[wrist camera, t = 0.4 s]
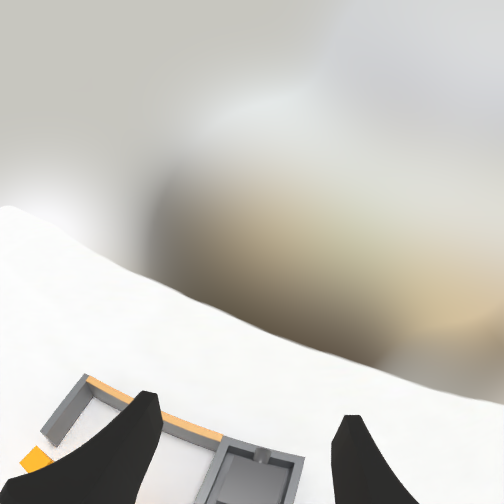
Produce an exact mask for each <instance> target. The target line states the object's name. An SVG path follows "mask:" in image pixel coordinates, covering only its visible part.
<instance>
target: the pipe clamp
mask: <svg viewBox="0 0 504 504" xmlns="http://www.w3.org/2000/svg"><path fill="white" fill-rule="evenodd" d="M52 463H54V461H53V460H52V459H51V458H50V457H48V456H47V455H46V454H45V453H44V452H43V451H42V450H41V449H40V448H38V447H37V446H35V447H34V448H33V449H32V450H31V451H30V453H29V454H28V455H27V456H26V457H25V458H24V459H23V460H22V461H21V462H20V464H21V465H22V467H23V468H24V469H25V470H26V471H27V472H28V473H31V472H33V471H36V470H38V469H40V468H43V467H45V466H47V465H50V464H52Z"/></svg>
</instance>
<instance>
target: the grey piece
mask: <svg viewBox="0 0 504 504" xmlns="http://www.w3.org/2000/svg"><path fill="white" fill-rule="evenodd" d="M93 396H94V397H96V398H98V399H99V400H101V401H103V402H105V403H107V404H108V405H110V406H112V407H114V408H116V409H118V410H120V411H123V410H124V409H125V408H126V407H127V406H128V405H129V404H130V403H131V402H132V400H133V399H134V398H132V397H130V396H128V395H126V394H124V393H122V392H120V391H118V390H116V389H114V388H112V387H110V386H108V385H106V384H104V383H103V382H101V381H99V380H97V379H95V378H94V377H92V376H89V375H87V374H84V375H83V376H82V377H81V379H80V380H79V381H78V382H77V384H76V385H75V386H74V387H73V389H72V390H71V391H70V392H69V394H68V395H67V396H66V398H65V399H64V400H63V401H62V403H61V404H60V405H59V407H58V408H57V409H56V411H55V412H54V413H53V414H52V416H51V417H50V418H49V420H48V421H47V422H46V424H45V425H44V426H43V428H42V429H41V430H40V432H41V433H42V434H43V435H44V436H45V437H46V438H47V439H48V440H49V441H50V442H51V443H52V444H53V445H54V446H56V447H57V446H58V445H59V444H60V442H61V441H62V439H63V438H64V436H65V435H66V434H67V432H68V431H69V429H70V428H71V427H72V425H73V424H74V422H75V421H76V420H77V418H78V417H79V415H80V414H81V413H82V411H83V410H84V409H85V407H86V406H87V404H88V403H89V402H90V400H91V399H92V398H93ZM161 414H162V418H163V423H164V424H163V428H162V431H164V432H166V433H169V434H171V435H173V436H176V437H178V438H181V439H183V440H186V441H188V442H191V443H193V444H196V445H199V446H202V447H204V448H207V449H210V450H213V451H216V454H215V456H214V458H213V461H212V463H211V465H210V468H209V470H208V472H207V475H206V477H205V479H204V482H203V484H202V486H201V488H200V491H199V493H198V495H197V497H196V500H195V502H194V504H293V503H294V499H295V496H296V492H297V488H298V484H299V480H300V476H301V472H302V468H303V464H304V460H305V457H301V456H297V455H292V454H288V453H284V452H279V451H275V450H271V449H268V448H264V447H260V446H256V445H253V444H249V443H246V442H243V441H239V440H236V439H233V438H230V437H227V436H224V435H223V434H220V433H217V432H214V431H211V430H209V429H206V428H203V427H200V426H197V425H195V424H192V423H190V422H187V421H184V420H182V419H179V418H177V417H174V416H172V415H170V414H167V413H165V412H163V411H161Z"/></svg>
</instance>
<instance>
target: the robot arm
mask: <svg viewBox="0 0 504 504" xmlns="http://www.w3.org/2000/svg"><path fill="white" fill-rule="evenodd" d="M163 424H164V423H163V418H162V414H161V410H160V405H159V400H158V395H157V394H156V393H152V392H147V391H141V392H140V393H139V394H138V395H137V396H136V397H135V398H134V399H133V400H132V402H131V403H130V404H129V405H128V406H127V407H126V408H125V409H124V410H123V411H122V412H121V413H120V414H119V415H118V416H117V417H115V418H114V419H113V420H112V421H111V422H110V423H109V424H108V425H107V426H106V427H105V428H103V429H102V430H101V431H100V432H99V433H97V434H96V435H95V436H94V437H93V438H91V439H90V440H89V441H87V442H86V443H85V444H83V445H82V446H81V447H79V448H78V449H76V450H75V451H73V452H71V453H70V454H68V455H66V456H65V457H63V458H61V459H59V460H58V461H56V462H54V463H52V464H50V465H47V466H45V467H43V468H40V469H38V470H36V471H33V472H31V473H28V474H24V475H21V476H18V477H14V478H11V479H8V481H7V482H6V483H5V485H4V487H3V488H2V490H1V492H0V504H135V501H136V497H137V494H138V491H139V488H140V485H141V483H142V481H143V478H144V476H145V474H146V471H147V469H148V467H149V464H150V462H151V460H152V457H153V455H154V453H155V450H156V448H157V445H158V442H159V439H160V435H161V432H162V428H163ZM331 467H332V476H333V485H334V494H335V504H419V503H418V502H417V501H416V500H415V499H414V498H413V496H412V495H411V494H410V493H409V492H408V491H407V490H406V488H405V487H404V486H403V485H402V483H401V482H400V481H399V479H398V478H397V477H396V475H395V474H394V472H393V471H392V470H391V468H390V467H389V465H388V464H387V462H386V460H385V459H384V457H383V456H382V454H381V452H380V451H379V449H378V447H377V446H376V444H375V442H374V440H373V438H372V437H371V435H370V433H369V431H368V429H367V427H366V425H365V423H364V421H363V419H362V417H361V416H360V415H344V418H343V420H342V422H341V424H340V426H339V428H338V431H337V433H336V435H335V437H334V439H333V441H332V443H331Z"/></svg>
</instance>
